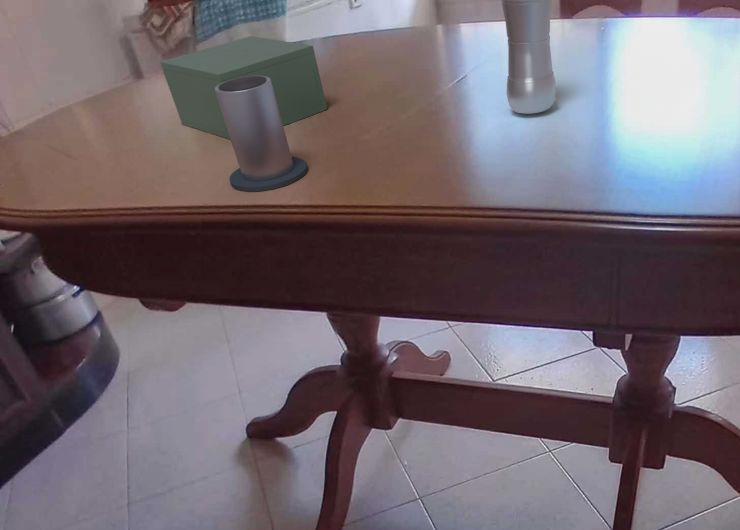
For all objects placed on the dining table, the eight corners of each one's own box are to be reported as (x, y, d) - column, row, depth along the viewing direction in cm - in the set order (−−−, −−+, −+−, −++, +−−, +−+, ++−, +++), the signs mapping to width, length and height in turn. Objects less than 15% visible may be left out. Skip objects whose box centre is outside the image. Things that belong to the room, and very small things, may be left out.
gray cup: (260, 185, 79) (233, 94, 73) (232, 174, 82) (204, 87, 76) (304, 166, 82) (281, 78, 76) (275, 157, 86) (251, 72, 80)
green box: (181, 124, 103) (159, 61, 97) (267, 95, 111) (250, 36, 106) (239, 142, 93) (218, 74, 88) (327, 109, 102) (312, 45, 96)
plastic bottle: (499, 118, 91) (485, -58, 79) (520, 101, 96) (509, -67, 84) (545, 121, 89) (537, -60, 77) (564, 103, 94) (559, -69, 82)
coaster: (258, 198, 77) (256, 193, 77) (216, 181, 83) (214, 176, 82) (323, 169, 83) (321, 164, 82) (279, 156, 88) (278, 151, 87)
